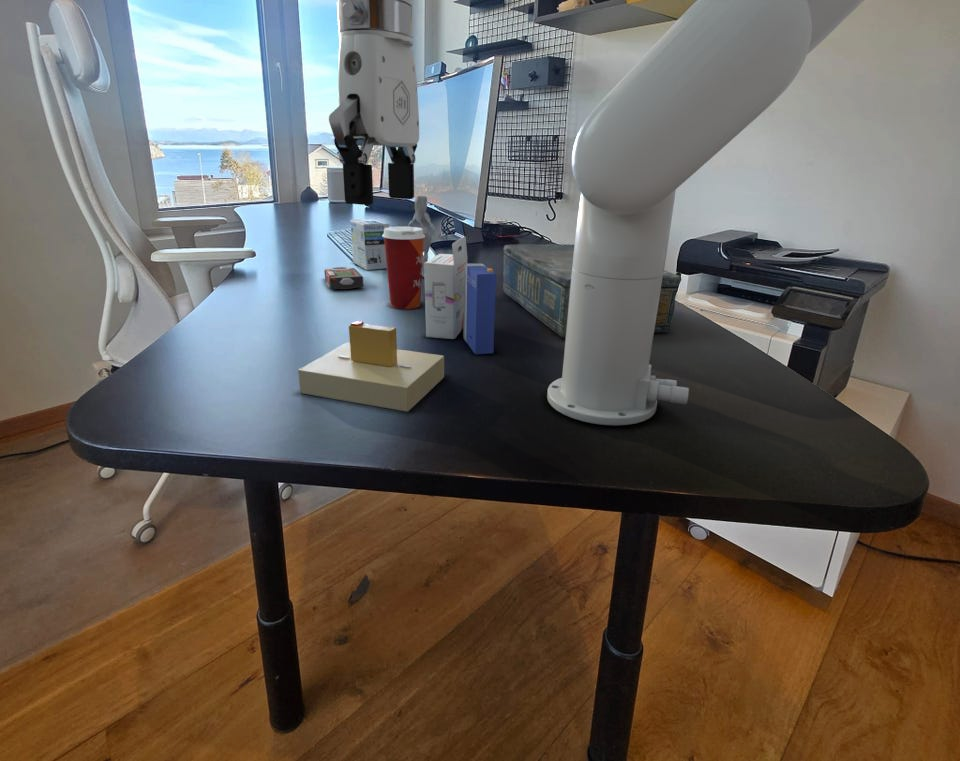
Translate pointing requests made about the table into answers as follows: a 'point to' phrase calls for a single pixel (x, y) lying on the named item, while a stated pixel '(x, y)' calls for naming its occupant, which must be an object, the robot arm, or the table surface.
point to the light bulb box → (368, 243)
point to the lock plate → (372, 378)
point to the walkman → (479, 307)
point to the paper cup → (404, 265)
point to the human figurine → (423, 224)
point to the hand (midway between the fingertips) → (381, 201)
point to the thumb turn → (373, 344)
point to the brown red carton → (343, 278)
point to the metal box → (561, 284)
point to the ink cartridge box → (445, 292)
